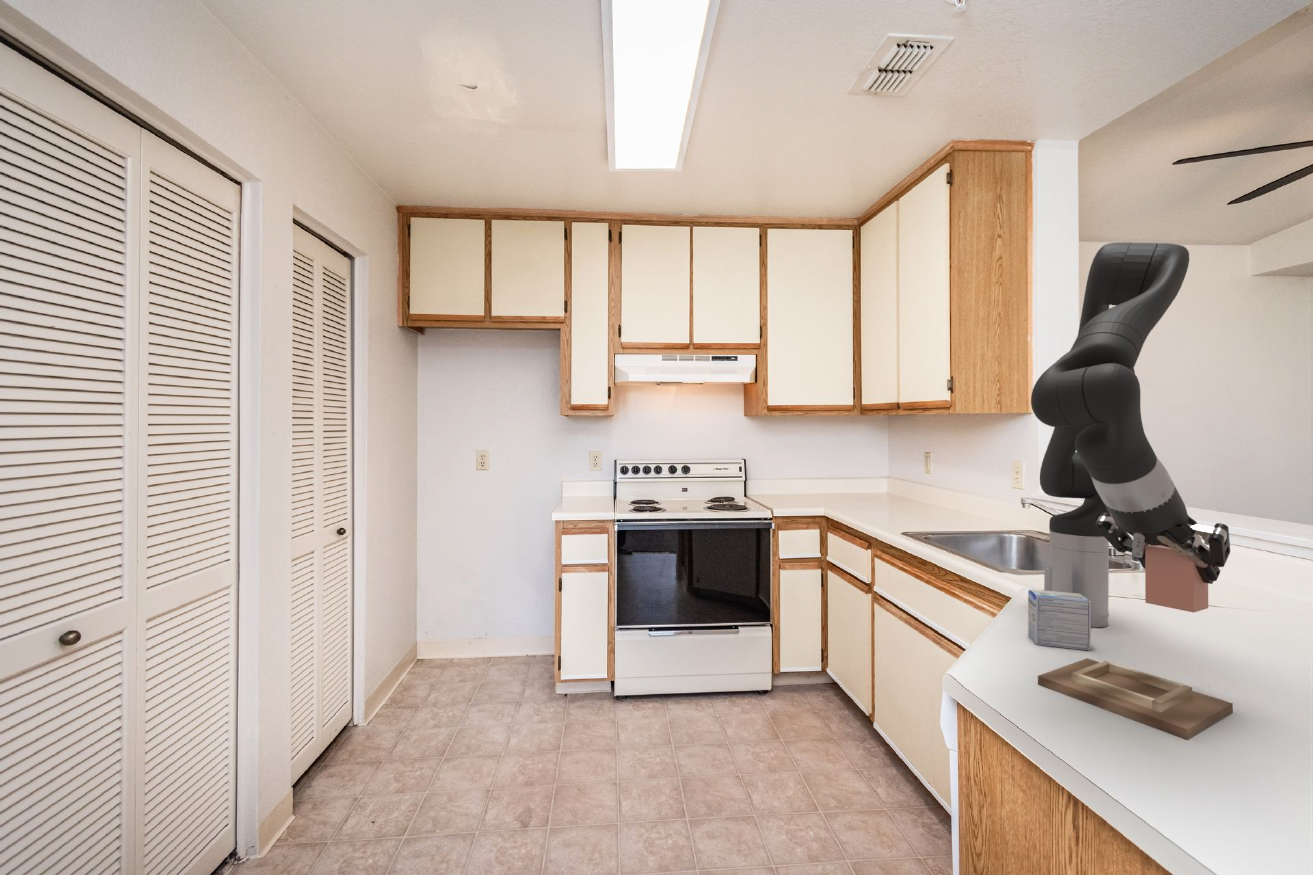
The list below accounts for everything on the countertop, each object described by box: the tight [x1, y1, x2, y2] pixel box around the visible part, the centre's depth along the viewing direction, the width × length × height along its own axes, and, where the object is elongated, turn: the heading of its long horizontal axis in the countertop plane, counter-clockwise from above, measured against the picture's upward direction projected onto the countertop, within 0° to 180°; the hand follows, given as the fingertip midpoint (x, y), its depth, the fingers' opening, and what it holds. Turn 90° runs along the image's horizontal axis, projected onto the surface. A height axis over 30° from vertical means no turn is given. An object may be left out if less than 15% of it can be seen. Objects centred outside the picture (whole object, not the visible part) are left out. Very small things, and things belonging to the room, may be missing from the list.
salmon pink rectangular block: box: [1144, 545, 1209, 614], centre depth 74 cm, size 5×5×8 cm
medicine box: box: [1027, 589, 1092, 651], centre depth 92 cm, size 8×4×9 cm, turn 71°
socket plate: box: [1037, 658, 1234, 741], centre depth 73 cm, size 16×14×2 cm
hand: (1182, 573), depth 75 cm, fingers closed on salmon pink rectangular block, 5 cm apart
